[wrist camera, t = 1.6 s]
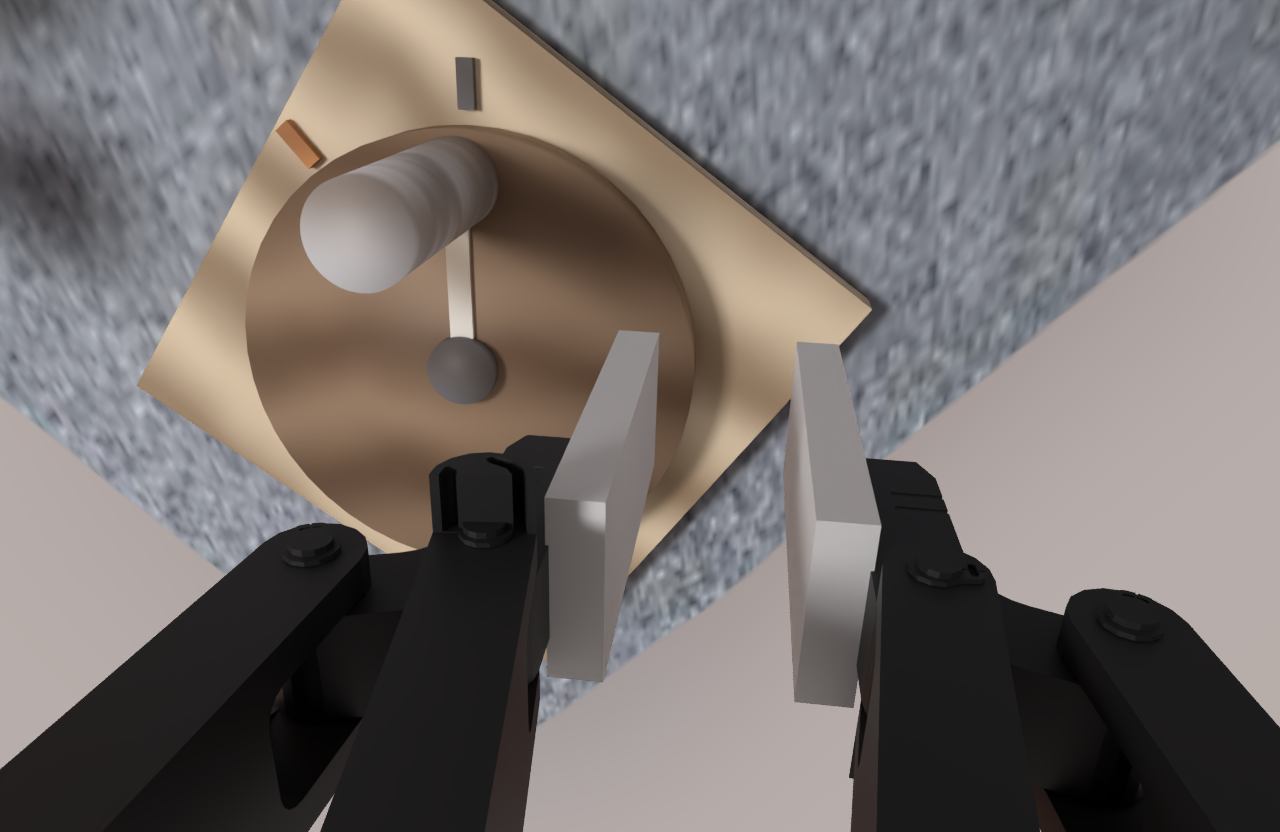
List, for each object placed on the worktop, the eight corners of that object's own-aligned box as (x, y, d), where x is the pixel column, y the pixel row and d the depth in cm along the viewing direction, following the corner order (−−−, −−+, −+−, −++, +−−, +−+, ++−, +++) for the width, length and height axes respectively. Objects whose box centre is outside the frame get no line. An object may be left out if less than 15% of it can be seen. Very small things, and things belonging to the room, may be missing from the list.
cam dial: (685, 558, 45) (660, 730, 34) (295, 523, 47) (155, 677, 36) (708, 135, 37) (687, 185, 26) (237, 114, 39) (36, 153, 28)
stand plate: (397, -76, 37) (379, -80, 36) (868, 299, 41) (873, 312, 39) (154, 374, 47) (131, 388, 45) (554, 644, 51) (547, 667, 49)
